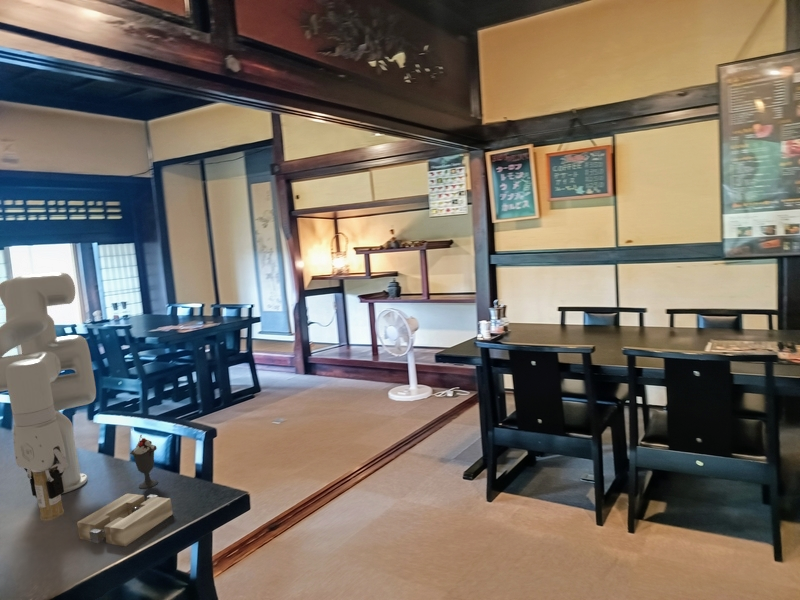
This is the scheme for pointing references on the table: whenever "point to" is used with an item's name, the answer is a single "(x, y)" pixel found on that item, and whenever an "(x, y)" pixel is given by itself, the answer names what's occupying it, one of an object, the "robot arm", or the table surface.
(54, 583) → the table surface
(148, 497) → the plunger
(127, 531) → the slotted wooden block
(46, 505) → the sprinkles bottle
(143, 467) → the sundae
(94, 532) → the plunger
